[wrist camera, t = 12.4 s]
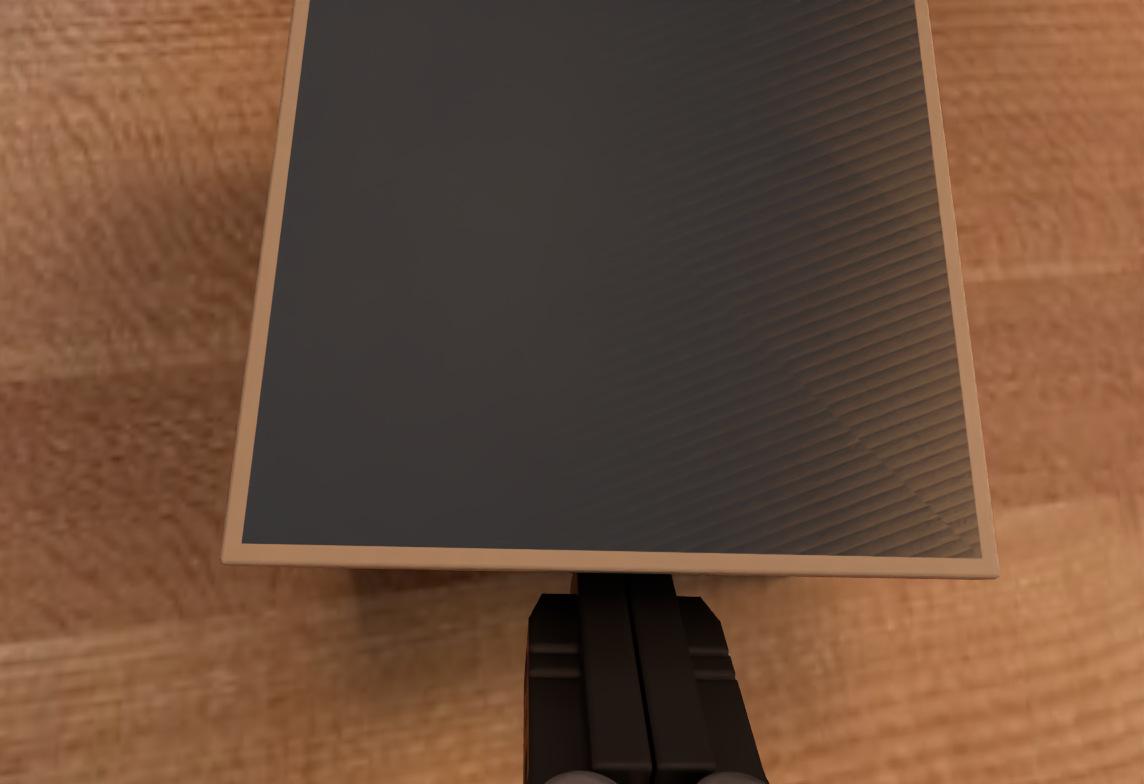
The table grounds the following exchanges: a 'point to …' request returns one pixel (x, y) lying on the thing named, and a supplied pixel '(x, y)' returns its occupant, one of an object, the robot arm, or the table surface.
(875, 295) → the storage box
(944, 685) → the table surface
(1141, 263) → the table surface
